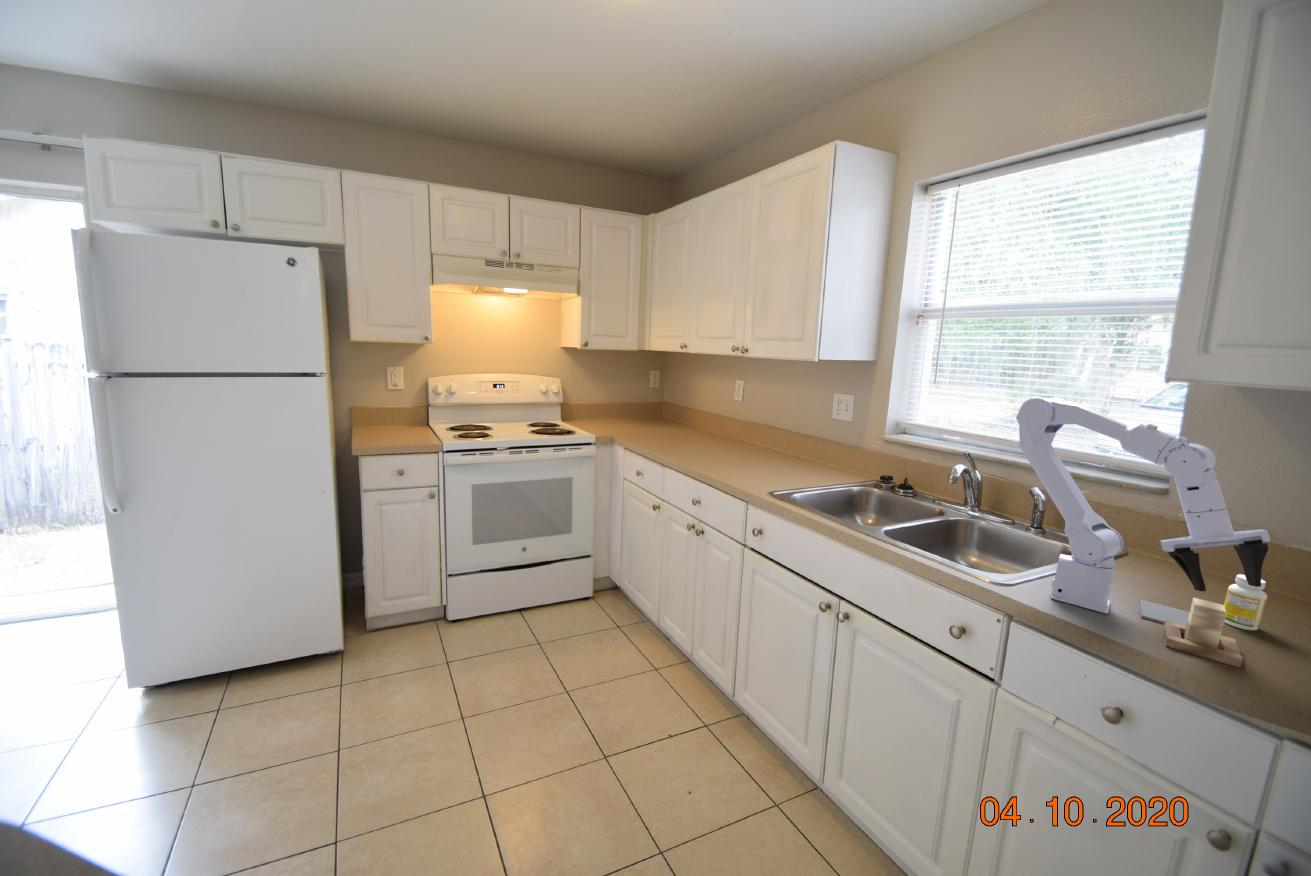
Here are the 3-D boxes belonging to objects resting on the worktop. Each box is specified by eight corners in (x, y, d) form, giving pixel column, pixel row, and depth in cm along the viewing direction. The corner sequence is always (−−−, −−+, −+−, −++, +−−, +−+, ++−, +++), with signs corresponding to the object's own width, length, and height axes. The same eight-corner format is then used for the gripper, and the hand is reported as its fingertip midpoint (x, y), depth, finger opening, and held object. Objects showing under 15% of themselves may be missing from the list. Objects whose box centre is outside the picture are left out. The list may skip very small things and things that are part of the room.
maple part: (1184, 646, 102) (1194, 604, 100) (1183, 638, 105) (1193, 597, 104) (1215, 655, 99) (1226, 612, 98) (1213, 646, 102) (1223, 604, 101)
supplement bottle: (1241, 631, 109) (1254, 583, 108) (1212, 617, 115) (1223, 572, 113) (1266, 631, 110) (1279, 584, 108) (1236, 617, 115) (1247, 572, 114)
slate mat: (1140, 617, 112) (1141, 615, 112) (1140, 601, 120) (1140, 599, 120) (1210, 636, 106) (1211, 633, 106) (1205, 618, 114) (1205, 616, 114)
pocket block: (1165, 645, 101) (1167, 638, 101) (1163, 627, 109) (1164, 620, 108) (1240, 667, 96) (1242, 659, 95) (1232, 646, 103) (1234, 638, 102)
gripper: (1166, 517, 101) (1189, 596, 98) (1271, 504, 96) (1297, 586, 94) (1147, 516, 107) (1168, 589, 105) (1244, 504, 103) (1268, 581, 101)
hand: (1227, 588), depth 100 cm, fingers open, 7 cm apart
